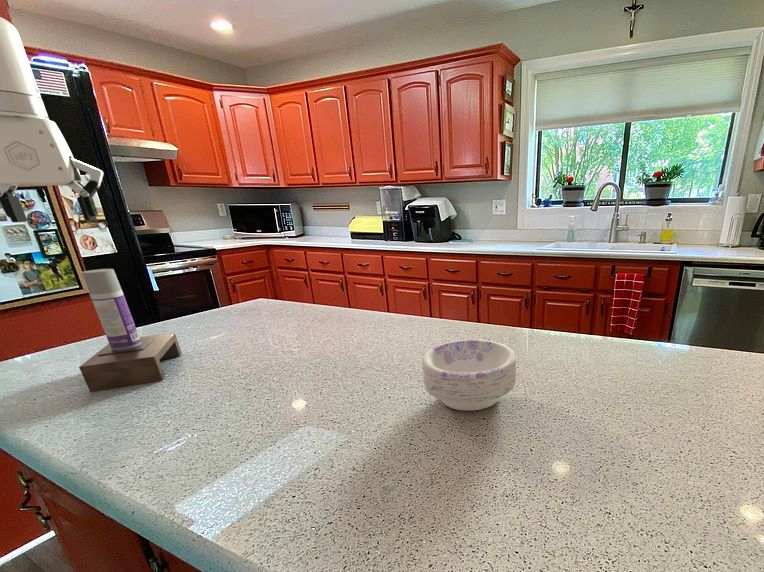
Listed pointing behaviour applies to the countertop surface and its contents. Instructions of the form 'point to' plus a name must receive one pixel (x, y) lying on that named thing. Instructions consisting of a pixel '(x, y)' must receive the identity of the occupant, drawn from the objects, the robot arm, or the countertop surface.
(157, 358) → the shelf
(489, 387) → the paper bowls
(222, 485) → the countertop surface
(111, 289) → the container
